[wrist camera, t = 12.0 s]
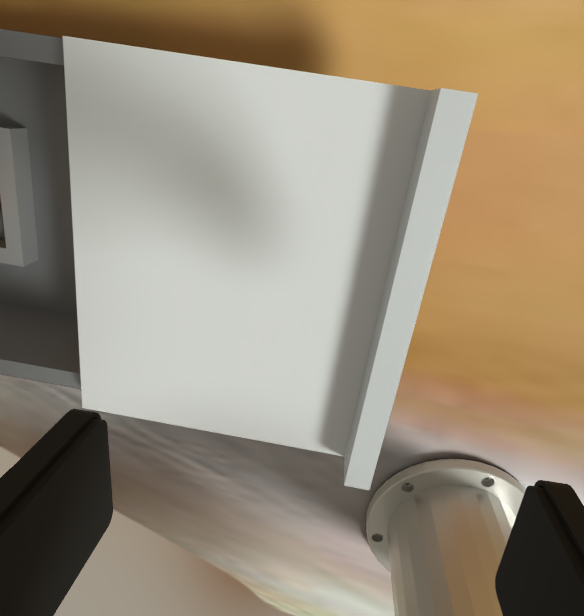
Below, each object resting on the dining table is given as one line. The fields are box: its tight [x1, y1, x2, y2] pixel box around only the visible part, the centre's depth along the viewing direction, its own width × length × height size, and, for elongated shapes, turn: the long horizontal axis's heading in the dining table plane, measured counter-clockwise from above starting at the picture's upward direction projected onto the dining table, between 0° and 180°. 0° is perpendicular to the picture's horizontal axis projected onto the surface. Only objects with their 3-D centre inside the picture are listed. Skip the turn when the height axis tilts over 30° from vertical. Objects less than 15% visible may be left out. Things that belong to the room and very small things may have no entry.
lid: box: [63, 36, 478, 490], centre depth 20 cm, size 15×17×3 cm
